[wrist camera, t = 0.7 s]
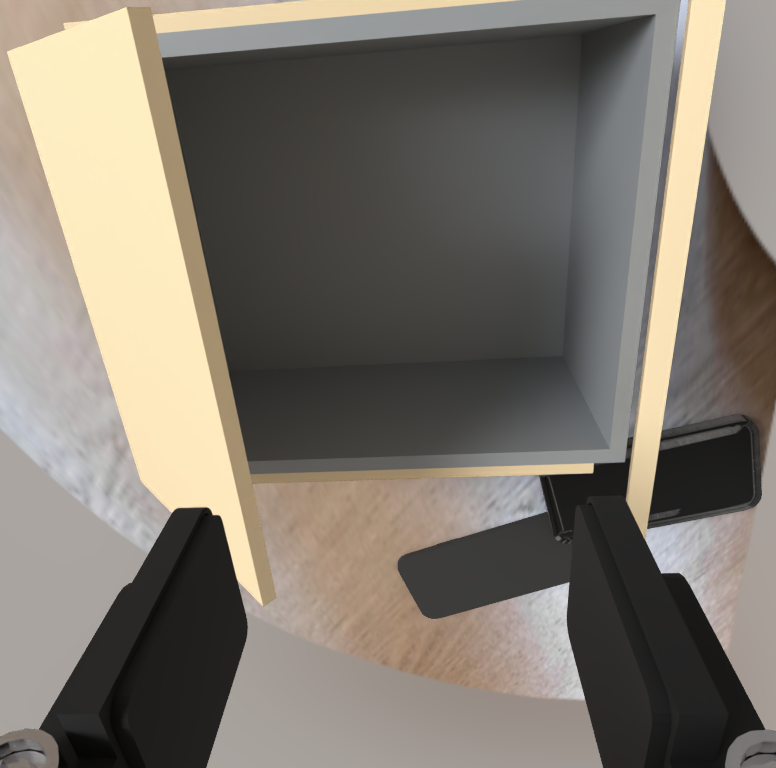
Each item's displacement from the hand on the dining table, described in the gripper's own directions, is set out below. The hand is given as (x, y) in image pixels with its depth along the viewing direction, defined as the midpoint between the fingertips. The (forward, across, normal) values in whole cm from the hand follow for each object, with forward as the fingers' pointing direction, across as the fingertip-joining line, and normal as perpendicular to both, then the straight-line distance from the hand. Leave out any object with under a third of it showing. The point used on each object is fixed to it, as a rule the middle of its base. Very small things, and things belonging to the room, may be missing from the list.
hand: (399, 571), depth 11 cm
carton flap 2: (+12, -8, 0) cm, 14 cm away
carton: (+30, +2, 0) cm, 30 cm away
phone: (+30, -5, +28) cm, 41 cm away
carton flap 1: (+13, +10, 0) cm, 16 cm away
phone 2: (+30, -16, +20) cm, 39 cm away
